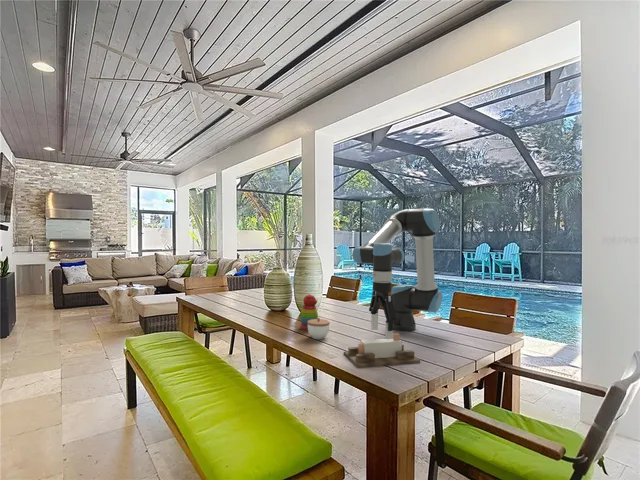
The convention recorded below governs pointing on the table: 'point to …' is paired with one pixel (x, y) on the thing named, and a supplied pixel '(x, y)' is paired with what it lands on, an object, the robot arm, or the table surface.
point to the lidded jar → (318, 328)
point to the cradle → (371, 361)
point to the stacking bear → (308, 311)
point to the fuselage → (381, 346)
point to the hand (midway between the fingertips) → (381, 334)
